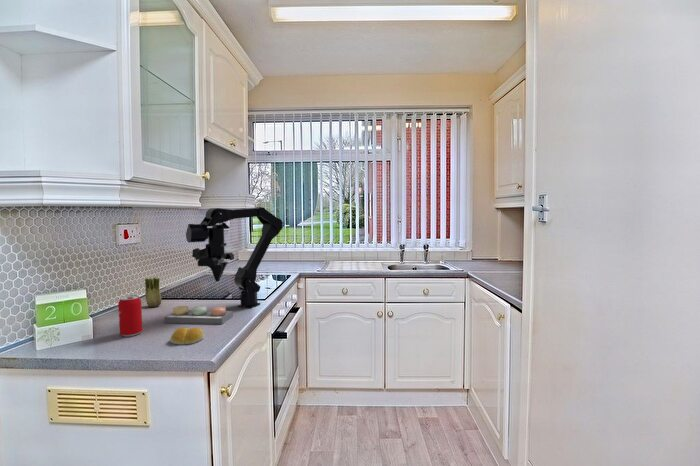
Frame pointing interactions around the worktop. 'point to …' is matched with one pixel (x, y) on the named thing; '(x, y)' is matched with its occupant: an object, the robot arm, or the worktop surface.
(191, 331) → the bread roll
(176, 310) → the ochre button
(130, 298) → the beverage can
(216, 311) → the terracotta button
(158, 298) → the fennel bulb
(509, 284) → the worktop surface
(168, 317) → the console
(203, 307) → the sage button
